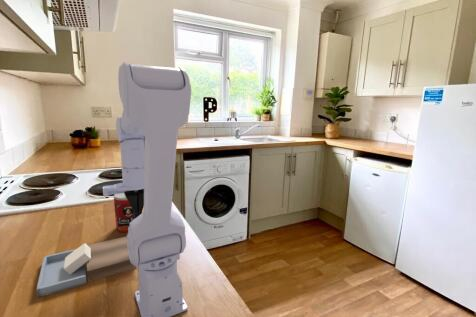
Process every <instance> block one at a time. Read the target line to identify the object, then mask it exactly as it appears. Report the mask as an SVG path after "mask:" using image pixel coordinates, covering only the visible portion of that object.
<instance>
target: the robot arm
mask: <svg viewBox="0 0 476 317" xmlns="http://www.w3.org/2000/svg"><path fill="white" fill-rule="evenodd" d="M117 81H118V91H119V92H118V94H119V99H120V101H121V104H122V107H123V108H122V109H123V111H122V114H121V116H117V117H116V121H115V129H116V130H115V131H116V136H117V139H118V142H119V147H120V148H119V150H120V163H121V176H122V182H120V183H115V184H111V185H104V186H102V196H103V198H104V197H109V196H111V195H113V196H114V194H120V193H124V194H125V196H126V198H127V200H128V201H129V203H130V205H131V207H132V210H133V214H134V218H135V219H134V220H133V221H132V222H130V226H129V227H128V232H127V235H126V236H127V246H128V254H129V259H130V262H131V264H133V265H134V266H137V275H138V288H139V290H136V291H134V296H135V299H136V303H137V306H138V307H137V308H138V309H139V312H140V313H139V314H140V316H141V317H173V316H176V315H177V314H181V313H182V312H183V313H184V312H185V311H188V306H189V305H188V304H187V302H186V301H185V299H184V296H183V282H182V279H181V277H180V275H179V272H178V260H180V259H181V258H180V256H181V255H180V254H182V253H184V252H185V249H186V247H187V239H186V227H185V223H184V220H183V219H182V217H181V216H180V214H179V213H178V212H176V211H174V210H171V209H172V207H173V196H174V195H173V194H174V184H175V183H174V182H175V169H176V168H175V167H176V158H177V148H178V147H177V145H178V137H179V132H180V130H179V129H180V128H182V127H183V126H185V125H186V124H187V123H188V121H189V115H190V110H191V98H192V97H191V96H192V86H191V81H190V76H189V74H188V73H187V71H186V70H185V68H183V67H178V68H175V67H165V66H158V65H157V66H154V65H147V64H146V65H144V64H134V63H129V62H122V63H121V65H119V66H118V80H117Z"/></svg>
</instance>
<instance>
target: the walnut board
mask: <svg viewBox="0 0 476 317" xmlns="http://www.w3.org/2000/svg"><path fill="white" fill-rule="evenodd" d="M87 245H88V246H89V247H90V248H91V259H90V260H88V261H87V262H86V277H87V282H91V281H95V280H98V279H102V278H105V277H108V276H109V277H110V276H113V275H116V274H120V273H122V272H126V271H130V270H134V269H136V268H137V269H138V266H134V265H133V264H131V262H130V259H129V254H128V246H127V235H126V236H123V237H118V238H112V239H108V240H105V241H100V242H95V243H91V244H87Z"/></svg>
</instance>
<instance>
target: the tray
mask: <svg viewBox="0 0 476 317" xmlns="http://www.w3.org/2000/svg"><path fill="white" fill-rule="evenodd" d="M76 249H77V248H75V249H71V250H66V251H62V252H57V253H53V254H49V255H44V256H43V260H42V262H41V268H40V272H39V277H38V280H37V281H38V282H37V286H36V295H37V298H38V297H39V298H41V297H40V296H42V297H44V296H43V295H46V294H49V295H51V294H50V293H53V294H55V293H58V292H62V291H66V290H69V289H73V288H77V287H79V286H83V285H86V284H87V283H88V281H87V262H86V263H85V264H83V265H82V266H81V267H79V268H78V269H77V270H76V271H74V272H73V273H72V274H69V273H68V272H66V271H65V270H64V263H65V257H67V256H68V255H69V254H71V253H72V252H73V251H75V250H76ZM87 285H88V284H87ZM46 296H47V295H46Z"/></svg>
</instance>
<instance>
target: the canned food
mask: <svg viewBox="0 0 476 317" xmlns="http://www.w3.org/2000/svg"><path fill="white" fill-rule="evenodd" d="M113 205H114V216H115V226H116V230H118V232H120V233H128V227H129V226H130V222H132V221H133V220H134V219H135V218H134V214H133V210H132V207H131V205H130V203H129V201H128V200H127V198H126V196H125V194H124V193H120V194H113Z"/></svg>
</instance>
